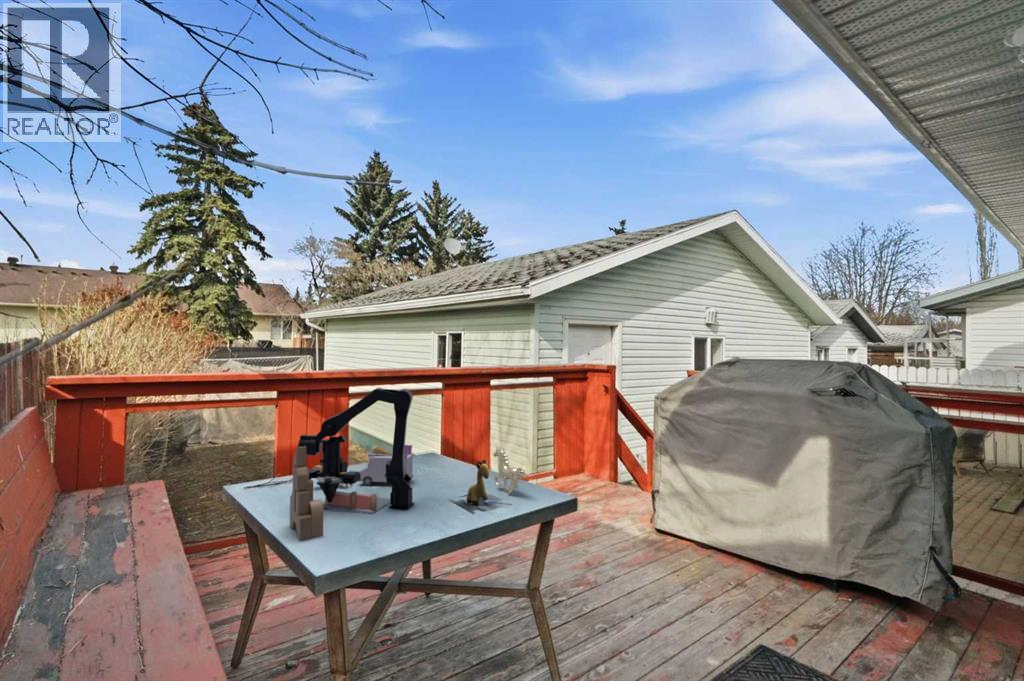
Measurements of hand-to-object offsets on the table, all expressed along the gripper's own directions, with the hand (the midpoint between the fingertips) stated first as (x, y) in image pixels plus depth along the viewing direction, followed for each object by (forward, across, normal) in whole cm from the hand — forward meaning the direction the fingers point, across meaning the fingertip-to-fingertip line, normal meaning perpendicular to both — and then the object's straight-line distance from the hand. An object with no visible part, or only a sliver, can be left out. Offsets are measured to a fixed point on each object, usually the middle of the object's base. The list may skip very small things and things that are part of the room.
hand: (330, 502), depth 165 cm
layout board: (+2, -7, -6) cm, 9 cm away
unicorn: (+2, -57, -26) cm, 63 cm away
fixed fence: (+2, -12, 0) cm, 12 cm away
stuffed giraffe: (+2, -48, -15) cm, 50 cm away
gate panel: (+1, -2, -2) cm, 3 cm away
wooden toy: (+3, -2, +18) cm, 18 cm away
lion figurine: (+2, +10, -21) cm, 23 cm away
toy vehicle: (+2, -8, -30) cm, 31 cm away
